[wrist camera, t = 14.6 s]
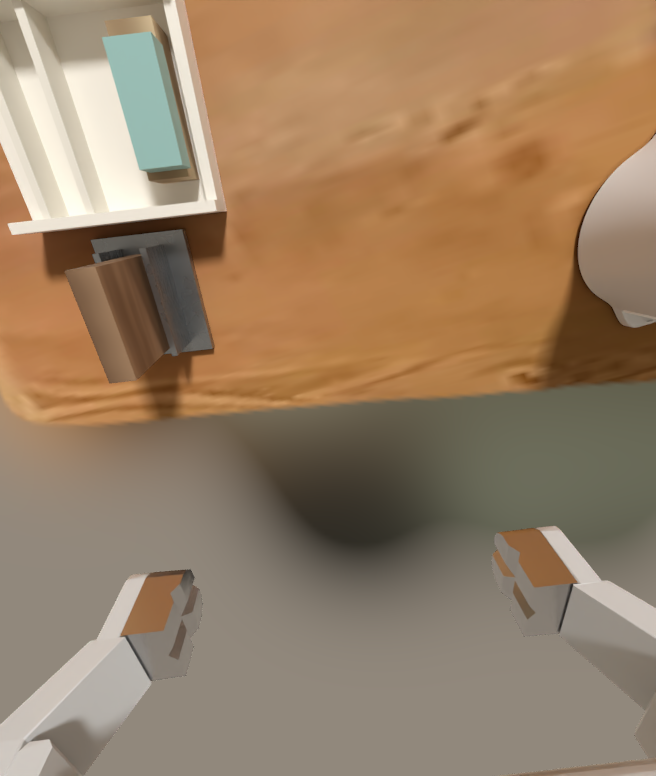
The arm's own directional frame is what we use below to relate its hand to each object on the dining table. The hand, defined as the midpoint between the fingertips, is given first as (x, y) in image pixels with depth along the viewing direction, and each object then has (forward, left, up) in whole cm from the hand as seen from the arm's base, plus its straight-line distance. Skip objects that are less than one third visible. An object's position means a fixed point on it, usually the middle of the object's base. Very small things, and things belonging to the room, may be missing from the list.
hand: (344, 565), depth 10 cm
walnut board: (+15, -3, -28) cm, 32 cm away
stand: (+15, -3, -29) cm, 33 cm away
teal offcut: (+10, -16, -25) cm, 31 cm away
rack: (+15, -16, -29) cm, 37 cm away
